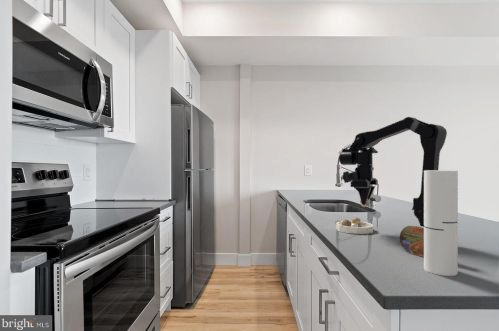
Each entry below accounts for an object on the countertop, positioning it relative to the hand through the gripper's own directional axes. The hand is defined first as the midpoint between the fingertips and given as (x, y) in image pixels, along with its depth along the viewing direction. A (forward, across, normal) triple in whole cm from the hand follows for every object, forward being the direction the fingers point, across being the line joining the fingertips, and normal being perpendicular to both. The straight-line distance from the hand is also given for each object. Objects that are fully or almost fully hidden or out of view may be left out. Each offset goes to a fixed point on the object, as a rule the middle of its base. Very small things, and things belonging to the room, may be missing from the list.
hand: (364, 204), depth 121 cm
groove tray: (+11, 0, -4) cm, 11 cm away
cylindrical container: (+11, +36, +27) cm, 46 cm away
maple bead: (-1, 0, 0) cm, 1 cm away
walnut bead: (+8, +3, -6) cm, 11 cm away
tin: (+11, +25, +23) cm, 35 cm away
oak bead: (+8, -4, -4) cm, 10 cm away
